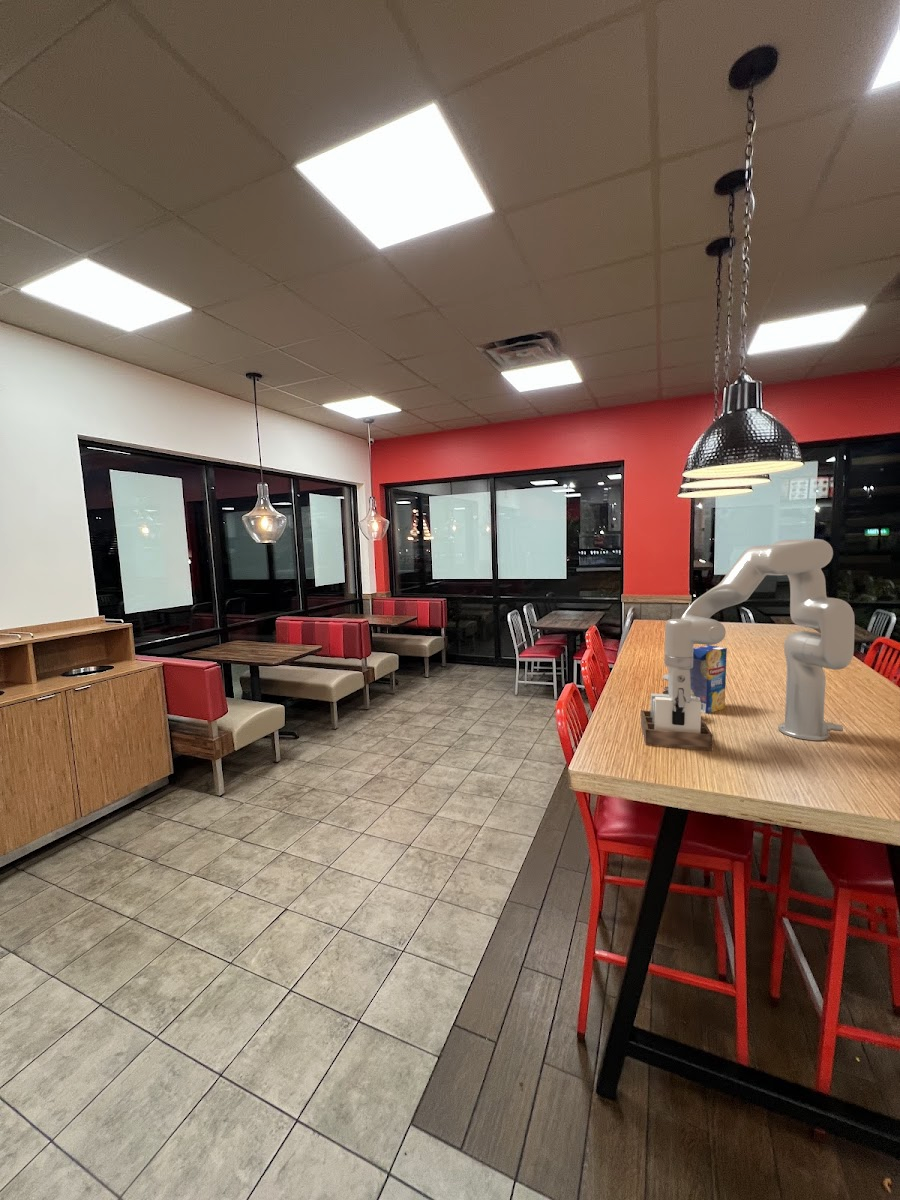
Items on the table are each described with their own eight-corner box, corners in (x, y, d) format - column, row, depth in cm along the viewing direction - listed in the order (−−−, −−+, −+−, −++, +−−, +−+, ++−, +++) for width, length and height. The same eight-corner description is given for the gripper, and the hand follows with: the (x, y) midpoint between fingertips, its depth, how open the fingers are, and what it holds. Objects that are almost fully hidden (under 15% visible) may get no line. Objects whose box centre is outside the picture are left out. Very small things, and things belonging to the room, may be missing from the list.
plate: (698, 732, 140) (699, 699, 139) (700, 736, 137) (701, 702, 136) (654, 728, 143) (654, 696, 142) (655, 732, 141) (655, 699, 140)
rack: (699, 728, 152) (699, 714, 152) (712, 750, 135) (712, 735, 134) (640, 723, 157) (640, 710, 157) (645, 744, 140) (645, 729, 140)
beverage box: (724, 708, 171) (726, 647, 169) (706, 713, 165) (708, 651, 163) (706, 703, 177) (708, 645, 175) (688, 708, 171) (689, 648, 169)
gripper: (698, 668, 129) (696, 733, 131) (687, 656, 145) (686, 714, 147) (668, 667, 132) (667, 731, 133) (661, 655, 147) (660, 712, 149)
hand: (677, 722), depth 140 cm, fingers closed on plate, 2 cm apart
